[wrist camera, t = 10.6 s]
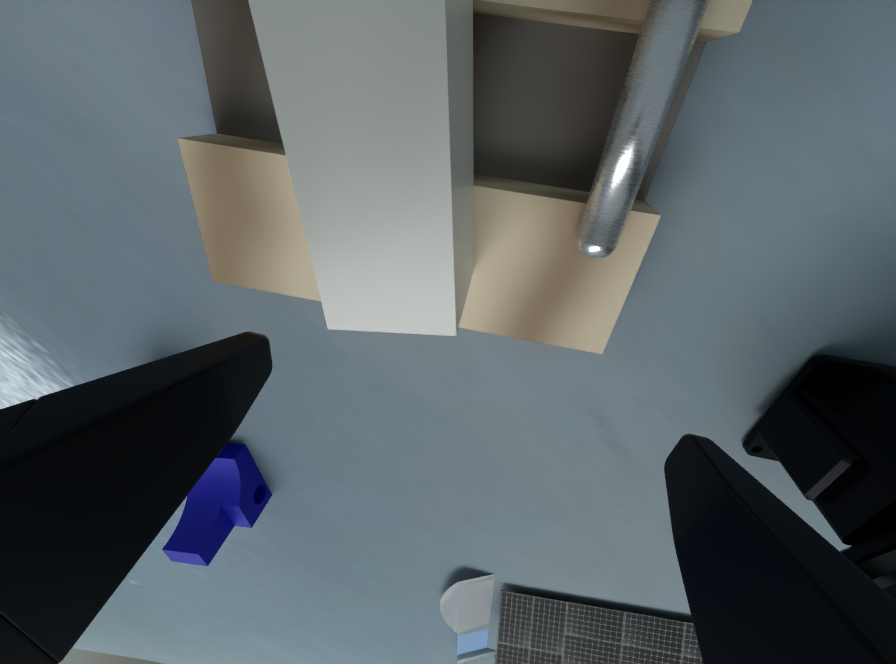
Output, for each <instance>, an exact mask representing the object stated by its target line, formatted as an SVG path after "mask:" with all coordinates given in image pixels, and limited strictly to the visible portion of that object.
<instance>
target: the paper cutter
mask: <svg viewBox="0 0 896 664" xmlns="http://www.w3.org/2000/svg"><path fill="white" fill-rule="evenodd" d="M494 576H495V574H492V575H488V576H483V577H478V578H474V579H469V580H464V581H460V582H457V583H455V584H454V585H452V586H451V587H450V588H448V589H447V590H446V592H445V593H444V594H443V596H442V598H441V601H440V610H441V614H442V616H443V618H444V620H445V621H446V623H447V624H448V625H449V626H450V627H451V628H452V629H453V630H454V631H455V632H456V633H457V634H458V637H457V661H458V664H462V663H466V662H470V661H474V660H478V659H482V658H486V657H490V656H494V655H495V661H494V664H703V662H702V657H701V653H700V649H699V645H698V641H697V637H696V633H695V628H694V624H693V623H691V622H685V621H679V620H673V619H667V618H662V617H656V616H650V615H644V614H638V613H633V612H627V611H621V610H615V609H610V608H604V607H598V606H592V605H586V604H581V603H575V602H569V601H563V600H557V599H552V598H546V597H540V596H534V595H529V594H523V593H517V592H511V591H505V590H501V603H500V615H499V628H498V640H497V651H496V650H491V649H486V645H487V636H488V628H489V619H490V611H491V602H492V594H493V585H494Z"/></svg>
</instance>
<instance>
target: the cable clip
mask: <svg viewBox="0 0 896 664" xmlns="http://www.w3.org/2000/svg"><path fill="white" fill-rule="evenodd" d="M271 496H272V494H271V492H270V490H269V488H268V486H267V485H266V483H265V481H264V479H263V477H262V475H261V473H260V471H259V469H258V468H257V466H256V464H255V462H254V460H253V458H252V456H251V454H250V453H249V451H248V449H247V447H246V445H240V444H228V443H227V444H226V445H225V446H224V448H223V449H222V450H221V452H220V453H219V454H218V456H217V457H216V458H215V460H214V461H213V462H212V464H211V465H210V466H209V467H208V469H207V470H206V471H205V473H204V474H203V475H202V477H201V478H200V479H199V481H198V482H197V483H196V485H195V486H194V487H193V489H192V490H191V491H190V493H189V494H188V495H187V500H186V504H185V508H184V511H183V514H182V516H181V519H180V521H179V523H178V525H177V527H176V529H175V531H174V533H173V534H172V536H171V538H170V539H169V541H168V542H167V544H166V545H165V546H164V548H163V549H162V550H163V551H164V552H165V554H166V555H167V556H168V557H169V558H170V559H171V560H172V561H175V562H182V563H189V564H196V565H203V566H208V565H209V563H210V562H211V560H212V559H213V557H214V556H215V554H216V553H217V551H218V550H219V548H220V547H221V545H222V544H223V542H224V541H225V539H226V538H227V536H228V535H229V533H230V532H231V530H232V529H233V527H234V526H241V527H249V528H252V527H253V525H254V523H255V522H256V520H257V519H258V517H259V515H260V514H261V512H262V511H263V509H264V507H265V506H266V504H267V503H268V501H269V499H270V498H271Z"/></svg>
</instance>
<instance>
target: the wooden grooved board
mask: <svg viewBox="0 0 896 664" xmlns="http://www.w3.org/2000/svg"><path fill="white" fill-rule="evenodd" d="M191 2H192V7H193V12H194V17H195V23H196V28H197V33H198V38H199V43H200V48H201V54H202V59H203V64H204V69H205V74H206V79H207V85H208V90H209V95H210V100H211V105H212V110H213V116H214V121H215V126H216V131H217V134H209V135H201V136H192V137H184V138H178V141H179V145H180V149H181V153H182V157H183V161H184V165H185V169H186V173H187V177H188V181H189V186H190V190H191V194H192V198H193V202H194V206H195V210H196V214H197V218H198V222H199V226H200V230H201V234H202V238H203V243H204V247H205V251H206V255H207V259H208V263H209V267H210V271H211V275H212V279H213V281H215V282H220V283H226V284H231V285H236V286H242V287H247V288H252V289H258V290H263V291H268V292H274V293H279V294H284V295H289V296H295V297H300V298H305V299H311V300H316V301H321V298H320V294H319V290H318V286H317V282H316V278H315V273H314V269H313V265H312V261H311V257H310V253H309V249H308V245H307V241H306V236H305V232H304V228H303V224H302V220H301V216H300V212H299V208H298V203H297V199H296V195H295V191H294V187H293V183H292V179H291V175H290V170H289V166H288V162H287V158H286V154H285V150H284V146H283V142H282V138H281V133H280V129H279V125H278V121H277V117H276V113H275V109H274V105H273V100H272V96H271V92H270V88H269V84H268V80H267V76H266V72H265V67H264V63H263V59H262V55H261V51H260V47H259V43H258V39H257V35H256V30H255V26H254V22H253V18H252V14H251V10H250V6H249V2H248V0H191ZM752 2H753V0H473V153H474V272H473V275H472V279H471V283H470V287H469V290H468V294H467V298H466V301H465V305H464V309H463V313H462V316H461V320H460V324H459V327H460V328H465V329H470V330H475V331H481V332H486V333H491V334H497V335H502V336H507V337H513V338H518V339H523V340H529V341H534V342H539V343H545V344H550V345H555V346H561V347H566V348H571V349H576V350H582V351H587V352H592V353H598V354H603V351H604V349H605V347H606V344H607V342H608V340H609V337H610V335H611V333H612V330H613V328H614V325H615V323H616V321H617V318H618V316H619V314H620V311H621V309H622V307H623V304H624V302H625V300H626V297H627V295H628V293H629V290H630V288H631V286H632V283H633V281H634V279H635V276H636V274H637V271H638V269H639V267H640V264H641V262H642V260H643V257H644V255H645V253H646V250H647V248H648V246H649V243H650V241H651V239H652V236H653V234H654V232H655V229H656V227H657V225H658V222H659V220H660V217H661V215H660V214H659V213H658V212H657V211H655V210H654V209H653V208H652V207H651V206H649V205H648V204H647V203H646V202H645V201H644V199H645V196H646V194H647V191H648V189H649V186H650V184H651V181H652V179H653V176H654V174H655V171H656V168H657V166H658V163H659V161H660V158H661V156H662V153H663V151H664V148H665V145H666V143H667V140H668V138H669V135H670V133H671V130H672V128H673V125H674V123H675V120H676V117H677V115H678V112H679V110H680V107H681V105H682V102H683V100H684V97H685V94H686V92H687V89H688V87H689V84H690V82H691V79H692V77H693V74H694V72H695V69H696V66H697V64H698V61H699V59H700V56H701V54H702V51H703V49H704V46H705V44H706V42H709V41H712V40H716V39H719V38H722V37H726V36H729V35H733V34H736V33H739V32H740V30H741V27H742V25H743V23H744V20H745V18H746V16H747V13H748V11H749V9H750V6H751V4H752Z"/></svg>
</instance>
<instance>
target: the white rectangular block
mask: <svg viewBox="0 0 896 664" xmlns="http://www.w3.org/2000/svg"><path fill="white" fill-rule="evenodd" d="M248 2H249V6H250V10H251V14H252V18H253V22H254V26H255V30H256V35H257V39H258V43H259V47H260V51H261V55H262V59H263V63H264V67H265V72H266V76H267V80H268V84H269V88H270V92H271V96H272V100H273V105H274V109H275V113H276V117H277V121H278V125H279V129H280V133H281V138H282V142H283V146H284V150H285V154H286V158H287V162H288V166H289V170H290V175H291V179H292V183H293V187H294V191H295V195H296V199H297V203H298V208H299V212H300V216H301V220H302V224H303V228H304V232H305V236H306V241H307V245H308V249H309V253H310V257H311V261H312V265H313V269H314V273H315V278H316V282H317V286H318V290H319V294H320V298H321V302H322V306H323V311H324V315H325V319H326V323H327V327H328V329H336V330H355V331H374V332H392V333H411V334H430V335H449V336H456V335H457V331H458V328H459V324H460V320H461V316H462V313H463V309H464V305H465V301H466V298H467V294H468V290H469V287H470V283H471V279H472V275H473V272H474V153H473V0H248Z"/></svg>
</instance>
